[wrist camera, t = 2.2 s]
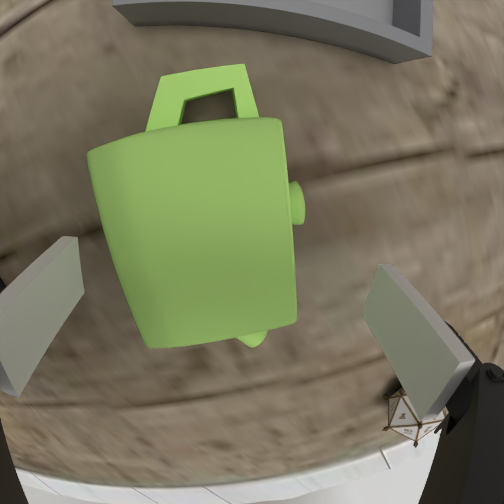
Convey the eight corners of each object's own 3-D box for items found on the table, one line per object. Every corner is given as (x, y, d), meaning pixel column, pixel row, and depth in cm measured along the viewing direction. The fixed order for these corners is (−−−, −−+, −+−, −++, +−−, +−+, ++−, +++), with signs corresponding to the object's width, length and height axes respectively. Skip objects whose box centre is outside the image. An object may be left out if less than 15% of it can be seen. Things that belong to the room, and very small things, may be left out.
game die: (382, 366, 36) (382, 396, 27) (444, 357, 33) (461, 385, 24) (382, 424, 35) (380, 464, 26) (441, 417, 32) (452, 454, 23)
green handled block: (292, 297, 27) (326, 378, 18) (178, 316, 26) (170, 403, 18) (271, 72, 19) (314, 46, 10) (128, 96, 18) (72, 87, 10)
